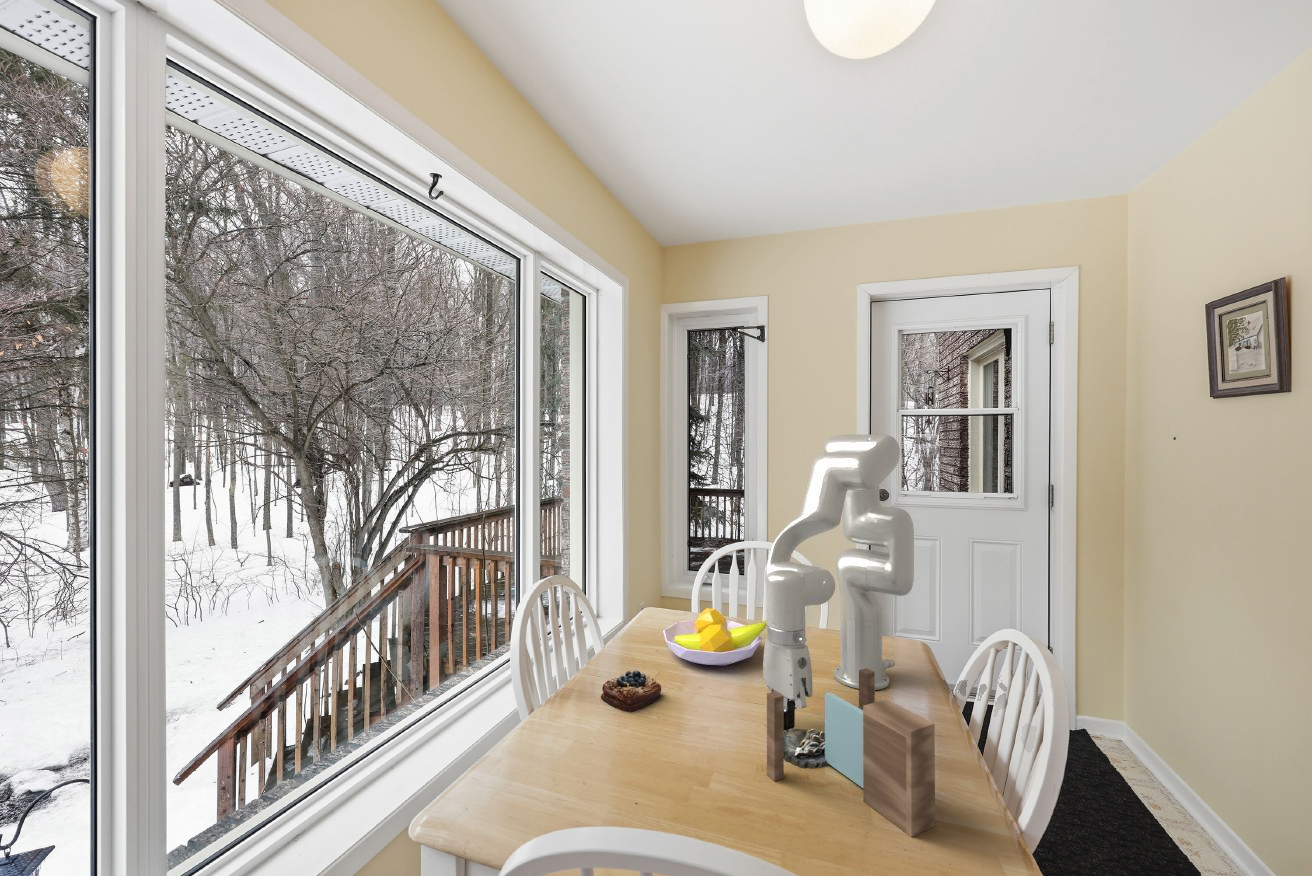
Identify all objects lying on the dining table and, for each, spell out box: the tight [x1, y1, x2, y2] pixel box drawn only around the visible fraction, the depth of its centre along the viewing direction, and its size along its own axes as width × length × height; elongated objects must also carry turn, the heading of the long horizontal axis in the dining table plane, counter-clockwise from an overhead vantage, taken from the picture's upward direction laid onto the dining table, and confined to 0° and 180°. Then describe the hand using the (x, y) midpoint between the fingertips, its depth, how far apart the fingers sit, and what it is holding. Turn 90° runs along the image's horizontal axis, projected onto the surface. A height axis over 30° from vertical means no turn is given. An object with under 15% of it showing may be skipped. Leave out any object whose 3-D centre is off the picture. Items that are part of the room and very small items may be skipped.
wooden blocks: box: [766, 668, 936, 838], centre depth 89 cm, size 24×21×15 cm
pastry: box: [600, 670, 662, 713], centre depth 122 cm, size 11×12×6 cm
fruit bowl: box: [662, 607, 767, 667], centre depth 146 cm, size 28×27×11 cm
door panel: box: [824, 692, 863, 789], centre depth 93 cm, size 1×10×12 cm, turn 27°
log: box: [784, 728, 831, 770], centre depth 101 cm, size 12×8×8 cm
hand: (785, 727), depth 107 cm, fingers closed
